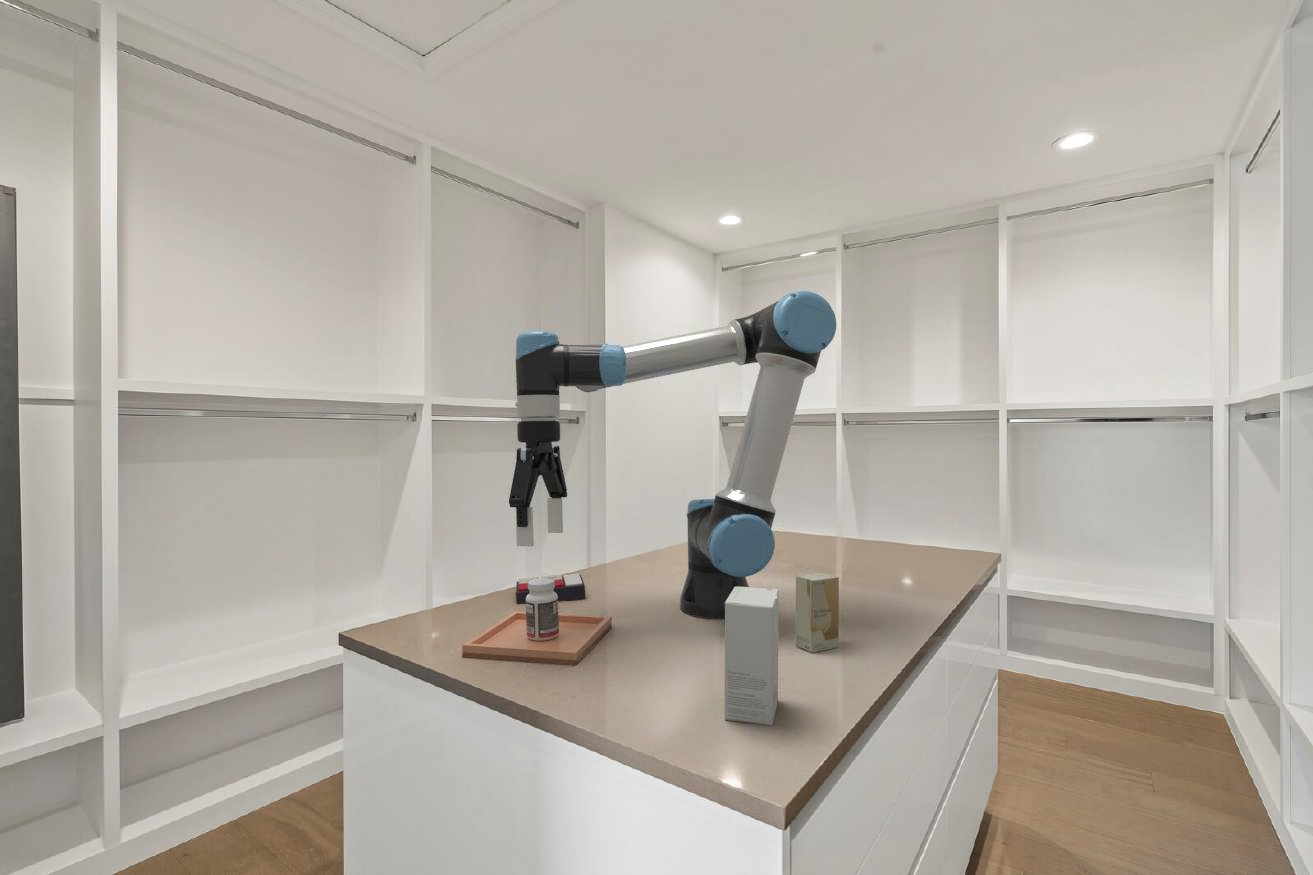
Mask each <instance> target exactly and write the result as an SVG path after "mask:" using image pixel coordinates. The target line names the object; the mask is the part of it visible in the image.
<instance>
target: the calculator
mask: <svg viewBox="0 0 1313 875" xmlns="http://www.w3.org/2000/svg"><path fill="white" fill-rule="evenodd" d="M541 578H548V579H553V580H554V582H555V587H554V589H553V591H554V592H556V594H557V595H558V602H561V601H562V602H563V601H566V602H571V601H573V602H575V601H584V600H585V601H586V585H585V583H584V579H583V577H582V574H579V573H570V574H563V575H562V574H554V575H545V576H544V575H543V576H541ZM533 579H540V577H539V576H536V577H535V576H533V577H526V578H519V579H518V581H516V584H515V585H516V588H515V589H516V590H515V596H516V598H515V599H516V604H517V605H526V596H527V595H528V594H529V593H530V591H529V589H528V582H529V581H530V580H533Z"/></svg>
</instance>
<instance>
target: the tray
mask: <svg viewBox="0 0 1313 875" xmlns="http://www.w3.org/2000/svg"><path fill="white" fill-rule="evenodd" d="M558 615H559V634H558V636H557V637H555V638H553V639H550V640H545V641H534V640H530V639H529V638H528V637H527V627H526V611H517V610H516V611H515V610H514V611H513V612H511V613H510V614H509V615H506V616H505V617H503V618H502V619H501V620H499V621H497V622H496V623H495V624H493V625H491V626H490V627H488V628H487V629H485V630H484V631H482V632H480V633H478V634H477V635H476V636H474V637H472V638H471V639H469V640H467V641H466V642H464V643H463V644H461V645H462V651H461V652H462V653H461V655H462V658H470V659H483V660H484V659H485V660H486V659H487V660H498V661H510V662H513V661H514V662H528V663H537V664H538V663H541V664H553V665H565V666H566V665H567V666H577V664H579V662H580V661H581V660H583V658H584V657H585V656H586V655H587V654H588V653H589V652H590V651H591V650H592V649H593V648H594V647H595V646H596V644H597V643H599V641H600V640H601V639H602V638H603V637H604V636H605V635H606V634H607V633H608V632H609V631H610V630H611V629H612V627H613V626H612V625H613V620H612V616H605V615H604V616H602V615H588V614H587V615H586V614H568V613H558Z"/></svg>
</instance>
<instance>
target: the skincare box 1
mask: <svg viewBox="0 0 1313 875" xmlns="http://www.w3.org/2000/svg"><path fill="white" fill-rule="evenodd" d="M779 593H780V592H779V589H777V588H764V587H751V586H750V587H734V589H733V591H732V592H731V594H730V595H729V597H728V598H727V600H726V602H725V618H724V721H731V722H739V723H748V724H755V725H765V726H773V724H774V720H775V715H776V710H777V706H778V702H779V597H780V596H779V595H780V594H779Z"/></svg>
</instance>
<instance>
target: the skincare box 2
mask: <svg viewBox="0 0 1313 875" xmlns="http://www.w3.org/2000/svg"><path fill="white" fill-rule="evenodd" d="M839 584H840V577H839V576H835V575H832V574H829V573H826V572H818V573H817V572H816V573H807V574H801V575H799V574H798V575H796V576H795V646H797V647H799V648H801V649H803V650H806V651H808V652H809V653H815V652H820V651H826V650H827V651H828V650H830V649H831V650H833V649H838V648H839V641H840V640H839V638H840V637H839V634H840V633H839V624H840V623H839V613H840V610H839V608H840V607H839V605H840V604H839V602H840V599H839V598H840V597H839V594H840V593H839V591H840V588H839V586H840V585H839Z"/></svg>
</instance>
